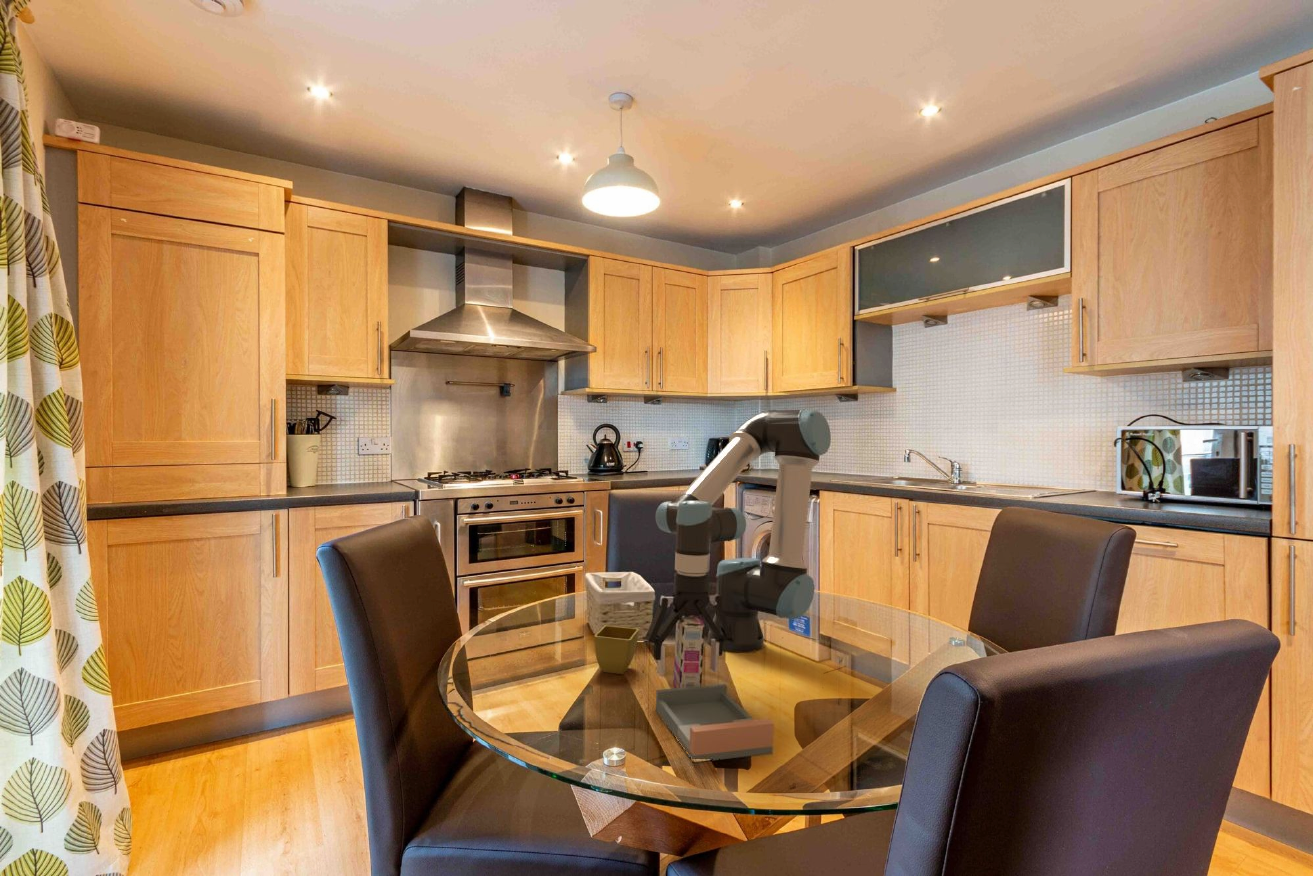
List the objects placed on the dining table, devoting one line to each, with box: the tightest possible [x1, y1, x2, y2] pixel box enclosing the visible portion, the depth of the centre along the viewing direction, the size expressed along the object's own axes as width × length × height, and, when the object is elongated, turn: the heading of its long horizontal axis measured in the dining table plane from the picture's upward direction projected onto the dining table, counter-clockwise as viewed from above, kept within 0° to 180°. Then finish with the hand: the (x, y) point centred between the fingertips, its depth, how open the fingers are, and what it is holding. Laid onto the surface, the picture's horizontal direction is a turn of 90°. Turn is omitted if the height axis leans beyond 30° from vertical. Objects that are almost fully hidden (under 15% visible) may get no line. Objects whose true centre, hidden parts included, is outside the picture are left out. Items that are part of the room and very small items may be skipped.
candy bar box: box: [672, 615, 706, 688], centre depth 136 cm, size 11×5×16 cm, turn 5°
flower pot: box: [593, 626, 639, 675], centre depth 147 cm, size 9×9×9 cm
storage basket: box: [584, 571, 656, 642], centre depth 177 cm, size 24×16×15 cm
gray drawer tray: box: [655, 683, 775, 761], centre depth 118 cm, size 15×21×5 cm
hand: (687, 672), depth 136 cm, fingers open, 12 cm apart
